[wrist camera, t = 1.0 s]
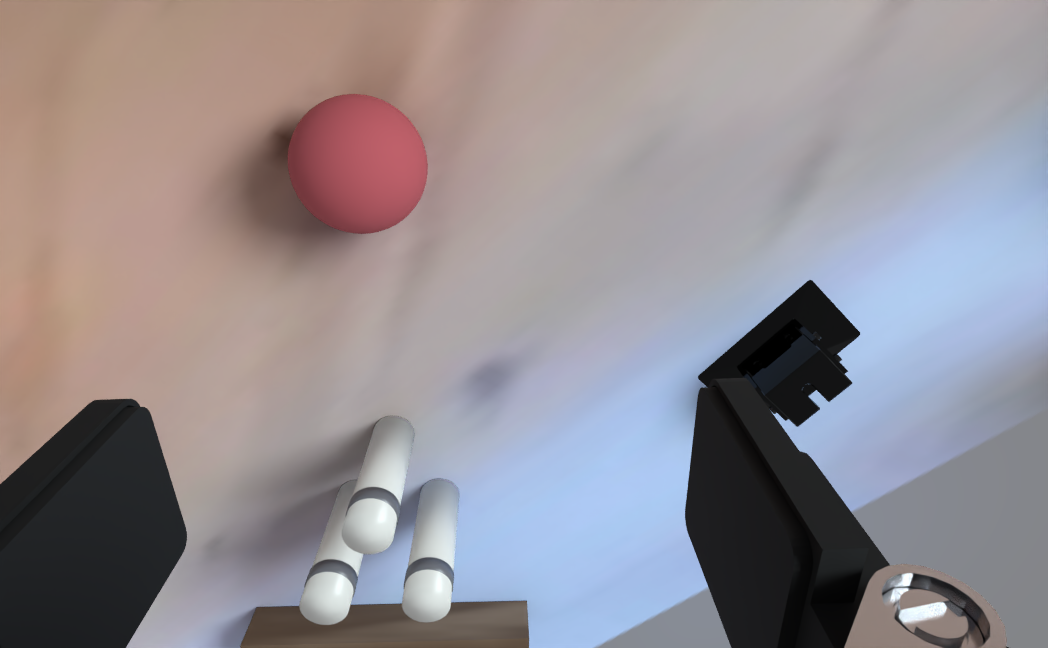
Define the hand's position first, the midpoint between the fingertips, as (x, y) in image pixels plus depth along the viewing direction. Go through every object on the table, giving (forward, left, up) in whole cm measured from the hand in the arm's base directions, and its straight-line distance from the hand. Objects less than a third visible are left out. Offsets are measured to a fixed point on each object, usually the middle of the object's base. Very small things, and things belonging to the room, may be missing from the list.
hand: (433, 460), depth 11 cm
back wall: (+29, -6, -23) cm, 37 cm away
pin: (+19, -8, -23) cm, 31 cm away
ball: (-2, -5, -20) cm, 21 cm away
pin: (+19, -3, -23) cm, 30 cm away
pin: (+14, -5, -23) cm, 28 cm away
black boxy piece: (+10, +17, -24) cm, 31 cm away
